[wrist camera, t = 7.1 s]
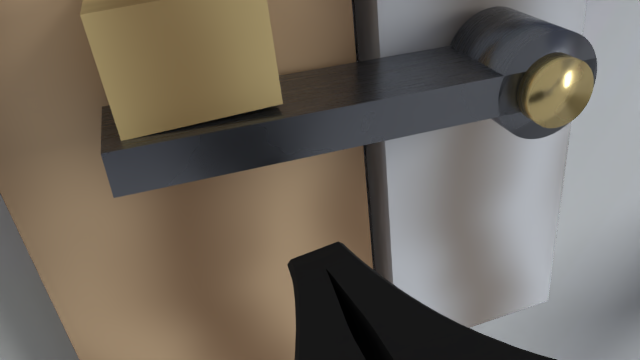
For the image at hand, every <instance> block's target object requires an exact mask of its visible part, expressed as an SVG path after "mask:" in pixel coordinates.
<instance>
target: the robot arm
mask: <svg viewBox="0 0 640 360" xmlns="http://www.w3.org/2000/svg"><path fill="white" fill-rule="evenodd" d="M287 266H288V269H289V272H290V275H291V278H292V282H293V288H294V297H295V315H296V338H295V359H294V360H556V359H552V358H548V357H545V356H541V355H538V354H535V353H532V352H529V351H526V350H523V349H519V348H517V347H514V346H511V345H509V344H506V343H504V342H501V341H499V340H496V339H494V338H491V337H489V336H486V335H483V334H481V333H479V332H476V331H474V330H472V329H470V328H468V327H466V326H464V325H461V324H459V323H457V322H455V321H453V320H452V319H450V318H448V317H446V316H444V315H442V314H440V313H438V312H436V311H435V310H433V309H431V308H429V307H428V306H426V305H424V304H423V303H421V302H419V301H418V300H416V299H415V298H413V297H411V296H410V295H408V294H407V293H405V292H404V291H402V290H401V289H399V288H398V287H396V286H395V285H394V284H392V283H391V282H389V281H388V280H387V279H385V278H384V277H382V276H381V275H380V274H378V273H377V272H376V271H374V270H373V269H372V268H371V267H369V266H368V265H367V264H366V263H364V262H363V261H362V260H361V259H360V258H358V257H357V256H356V255H355V254H354V253H353V252H352V251H351V250H349V249H348V248H347V247H346V246H345V245H344V244H343V243H341V242H339V241H338V242H335V243H333V244H330V245H327V246H325V247H322V248H319V249H317V250H314V251H312V252H309V253H306V254H304V255H301V256H298V257H296V258H293V259H291V260H290V261H289V263H288V264H287Z"/></svg>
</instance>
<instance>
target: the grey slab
mask: <svg viewBox="0 0 640 360" xmlns="http://www.w3.org/2000/svg"><path fill="white" fill-rule="evenodd" d="M354 3H355V16H356V29H357V42H358V55H359V62H360V61H365V60H371V59H377V58H382V57H388V56H394V55H400V54H405V53H411V52H417V51H423V50H428V49H434V48H440V47H445V46H450V44H451V42H452V39H453V38H454V36H455V34H456V33H457V31H458V30H459V29H460V27H461V26H462V25H463V24H464V23H465V22H466V21H467V20H468V19H469V18H471V17H472V16H473V15H475V14H476V13H478V12H480V11H482V10H485V9H487V8H491V7H498V6H502V7H508V8H512V9H515V10H517V11H520V12H523V13H525V14H528V15H531V16H533V17H536V18H539V19H541V20H544V21H547V22H550V23H552V24H555V25H558V26H560V27H563V28H566V29H568V30H571V31H574V32H576V33H578V34H581V35H582V36H583V29H584V21H585V14H586V6H587V0H354ZM354 62H356V49H355V37H354V24H353V12H352V0H0V194H1V196H2V198H3V200H4V202H5V204H6V206H7V208H8V210H9V212H10V215H11V217H12V219H13V221H14V223H15V225H16V227H17V229H18V231H19V234H20V236H21V238H22V240H23V242H24V244H25V246H26V248H27V250H28V253H29V255H30V257H31V259H32V261H33V263H34V265H35V267H36V269H37V271H38V274H39V276H40V278H41V280H42V282H43V284H44V286H45V288H46V290H47V293H48V295H49V297H50V299H51V301H52V303H53V305H54V307H55V309H56V311H57V314H58V316H59V318H60V320H61V322H62V324H63V326H64V328H65V330H66V333H67V335H68V337H69V339H70V341H71V343H72V345H73V347H74V349H75V352H76V354H77V356H78V358H79V360H294V359H295V338H296V315H295V297H294V288H293V282H292V278H291V275H290V272H289V269H288V266H287V264H288V263H289V261H290V260H291V259H293V258H296V257H298V256H301V255H304V254H306V253H309V252H312V251H314V250H317V249H319V248H322V247H325V246H327V245H330V244H333V243H335V242H338V241H339V242H341V243H343V244H344V245H345V246H346V247H347V248H348V249H349V250H351V251H352V252H353V253H354V254H355V255H356V256H357V257H358V258H360V259H361V260H362V261H363V262H364V263H366V264H367V265H368V266H369V267H371V268H372V269H373V263H372V250H371V237H370V225H369V212H368V200H367V187H366V175H365V162H364V150H363V146H358V147H354V148H349V149H344V150H339V151H335V152H330V153H325V154H320V155H316V156H311V157H306V158H301V159H297V160H292V161H287V162H283V163H278V164H273V165H268V166H264V167H259V168H254V169H249V170H245V171H240V172H235V173H231V174H226V175H221V176H216V177H212V178H207V179H202V180H197V181H193V182H188V183H183V184H178V185H174V186H169V187H164V188H160V189H155V190H150V191H145V192H141V193H136V194H131V195H126V196H122V197H117V198H114V197H113V194H112V191H111V187H110V184H109V180H108V177H107V174H106V170H105V167H104V164H103V160H102V157H101V121H102V106H108V105H110V108H111V111H112V115H113V118H114V121H115V124H116V127H117V130H118V133H119V136H120V139H121V141H123V140H128V139H133V138H137V137H141V136H146V135H150V134H155V133H159V132H163V131H168V130H172V129H176V128H181V127H185V126H189V125H194V124H198V123H202V122H207V121H211V120H215V119H220V118H224V117H228V116H233V115H237V114H241V113H246V112H250V111H254V110H259V109H263V108H267V107H272V106H276V105H280V104H283V101H282V94H281V88H280V81H279V75H285V74H291V73H297V72H302V71H308V70H314V69H319V68H325V67H331V66H337V65H342V64H348V63H354ZM570 128H571V122H570V123H569V124H567V125H566V126H565V127H564V128H562V129H561V130H559V131H557V132H556V133H554V134H552V135H549V136H547V137H543V138H539V139H524V138H520V137H518V136H516V135H514V134H512V133H511V132H509V131H508V130H506V129H505V128H503V127H502V126H500V125H499V124H498V123H496V122H495V121H493V120H492V119H486V120H481V121H477V122H472V123H467V124H462V125H458V126H453V127H448V128H443V129H439V130H434V131H429V132H424V133H420V134H415V135H410V136H406V137H401V138H396V139H391V140H387V141H382V142H377V143H372V144H368V145H365V146H366V159H367V172H368V185H369V197H370V210H371V223H372V236H373V249H374V262H375V271H376V272H377V273H378V274H380V275H381V276H382V277H384V278H385V279H387V280H388V281H389V282H391V283H392V284H394V285H395V286H396V287H398V288H399V289H401V290H402V291H404V292H405V293H407V294H408V295H410V296H411V297H413V298H415V299H416V300H418V301H419V302H421V303H423V304H424V305H426V306H428V307H429V308H431V309H433V310H435V311H436V312H438V313H440V314H442V315H444V316H446V317H448V318H450V319H452V320H453V321H455V322H457V323H459V324H461V325H464V326H466V327H468V328H470V327H473V326H476V325H479V324H482V323H484V322H487V321H490V320H493V319H496V318H499V317H502V316H505V315H508V314H511V313H514V312H517V311H520V310H523V309H526V308H529V307H532V306H534V305H537V304H540V303H543V302H546V301H548V297H549V289H550V282H551V274H552V266H553V259H554V251H555V243H556V236H557V228H558V220H559V213H560V205H561V197H562V190H563V182H564V174H565V167H566V159H567V151H568V144H569V136H570Z"/></svg>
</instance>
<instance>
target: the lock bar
mask: <svg viewBox="0 0 640 360" xmlns="http://www.w3.org/2000/svg"><path fill="white" fill-rule="evenodd" d="M596 59H597V58H596V55H595V52H594V49H593V47H592V45H591V44H590V42H589V41H588V40H587V39H586V38H585V37H584V36H582V35H581V34H578V33H576V32H574V31H571V30H568V29H566V28H563V27H560V26H558V25H555V24H552V23H550V22H547V21H544V20H541V19H539V18H536V17H533V16H531V15H528V14H525V13H523V12H520V11H517V10H515V9H512V8H508V7H502V6H498V7H491V8H487V9H485V10H482V11H480V12H478V13H476V14H475V15H473V16H472V17H471V18H469V19H468V20H467V21H466V22H465V23H464V24H463V25H462V26H461V27H460V29H459V30H458V31H457V33H456V34H455V36H454V38H453V39H452V42H451V44H450V46H445V47H440V48H434V49H428V50H423V51H417V52H411V53H405V54H400V55H394V56H388V57H382V58H377V59H371V60H365V61H360V62H354V63H348V64H342V65H337V66H331V67H325V68H319V69H314V70H308V71H302V72H297V73H291V74H285V75H279V81H280V88H281V94H282V101H283V104H280V105H276V106H272V107H267V108H263V109H259V110H254V111H250V112H246V113H241V114H237V115H233V116H228V117H224V118H220V119H215V120H211V121H207V122H202V123H198V124H194V125H189V126H185V127H181V128H176V129H172V130H168V131H163V132H159V133H155V134H150V135H146V136H141V137H137V138H133V139H128V140H123V141H121V139H120V136H119V133H118V130H117V127H116V124H115V121H114V118H113V115H112V111H111V108H110V105H108V106H102V121H101V157H102V160H103V164H104V167H105V170H106V174H107V177H108V180H109V184H110V187H111V191H112V194H113V197H114V198H117V197H122V196H126V195H131V194H136V193H141V192H145V191H150V190H155V189H160V188H164V187H169V186H174V185H178V184H183V183H188V182H193V181H197V180H202V179H207V178H212V177H216V176H221V175H226V174H231V173H235V172H240V171H245V170H249V169H254V168H259V167H264V166H268V165H273V164H278V163H283V162H287V161H292V160H297V159H301V158H306V157H311V156H316V155H320V154H325V153H330V152H335V151H339V150H344V149H349V148H354V147H358V146H363V145H368V144H372V143H377V142H382V141H387V140H391V139H396V138H401V137H406V136H410V135H415V134H420V133H424V132H429V131H434V130H439V129H443V128H448V127H453V126H458V125H462V124H467V123H472V122H477V121H481V120H486V119H492V120H493V121H495V122H496V123H498V124H499V125H500V126H502V127H503V128H505V129H506V130H508V131H509V132H511V133H512V134H514V135H516V136H518V137H520V138H524V139H539V138H543V137H547V136H549V135H552V134H554V133H556V132H557V131H559V130H561V129H562V128H564V127H565V126H566V125H567V124H569V123H570V122H571V121H572V120H574V119H575V118H576V117H577V116H578V115H579V114H580V113H581V112H582V111H583V109H584V108H585V106H586V105H587V103H588V101H589V99H590V97H591V94H592V91H593V87H594V84H595V79H596V73H597V61H596Z"/></svg>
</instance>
